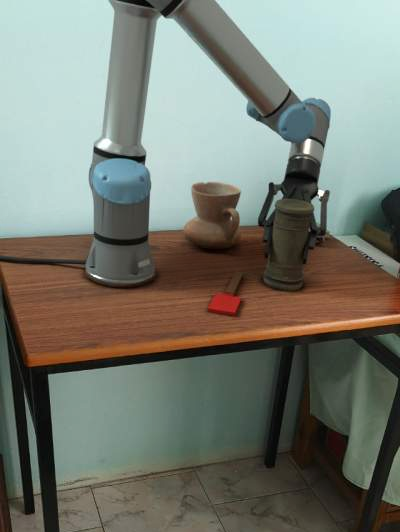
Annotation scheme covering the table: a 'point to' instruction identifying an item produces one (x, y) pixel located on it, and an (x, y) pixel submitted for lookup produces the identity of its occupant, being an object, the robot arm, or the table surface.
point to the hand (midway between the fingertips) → (285, 258)
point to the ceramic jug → (214, 216)
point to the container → (288, 244)
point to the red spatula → (227, 298)
